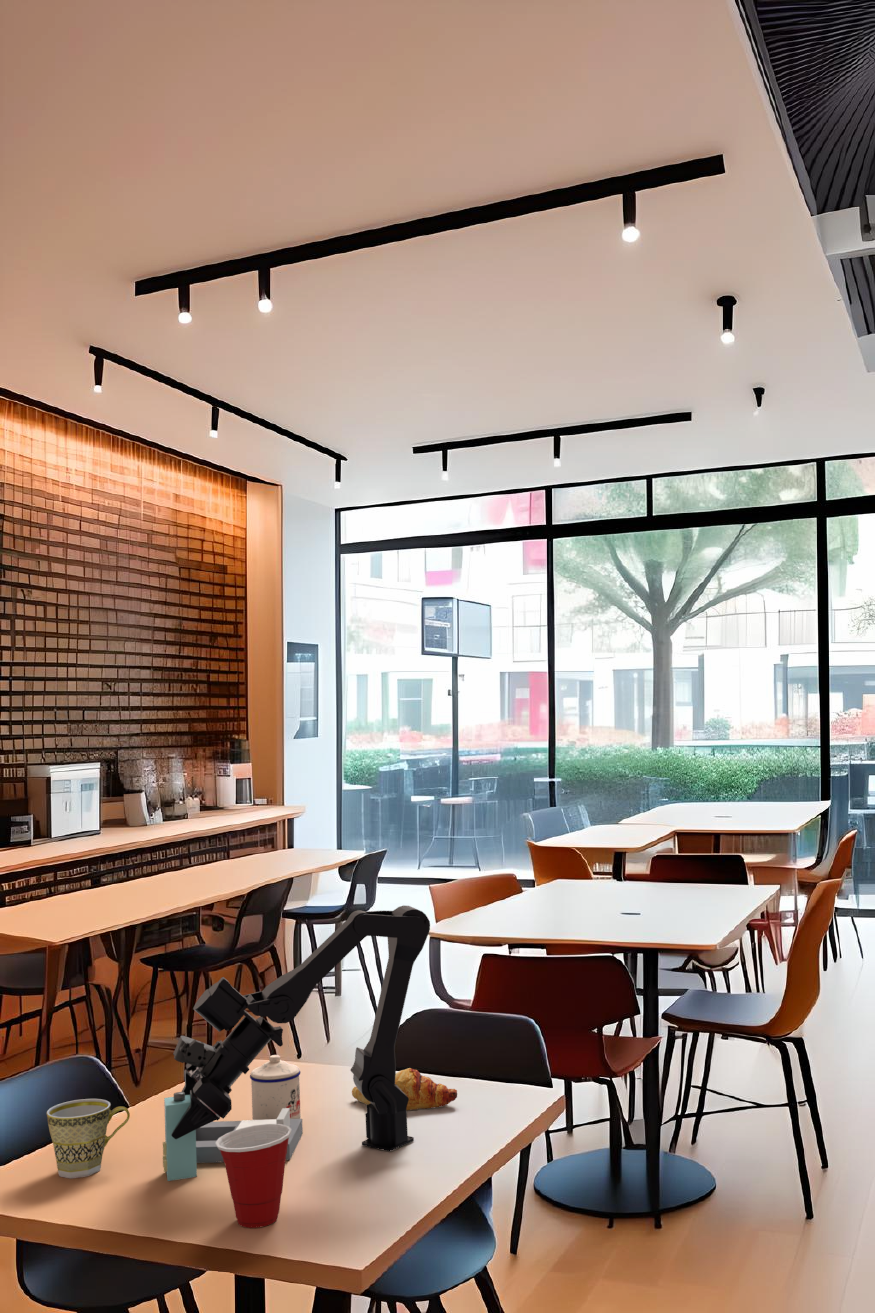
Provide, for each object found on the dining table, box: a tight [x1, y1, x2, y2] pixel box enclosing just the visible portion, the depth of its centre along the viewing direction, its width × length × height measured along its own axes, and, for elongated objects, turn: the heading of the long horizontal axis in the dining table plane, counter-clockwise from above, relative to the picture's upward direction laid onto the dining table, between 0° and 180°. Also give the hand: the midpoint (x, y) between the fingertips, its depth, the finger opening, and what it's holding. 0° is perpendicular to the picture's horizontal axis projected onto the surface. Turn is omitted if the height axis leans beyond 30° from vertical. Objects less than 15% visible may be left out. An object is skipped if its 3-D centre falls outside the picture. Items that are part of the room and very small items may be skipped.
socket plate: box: [196, 1118, 304, 1164], centre depth 192 cm, size 19×13×2 cm
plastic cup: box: [216, 1124, 292, 1229], centre depth 162 cm, size 11×11×12 cm
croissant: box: [351, 1067, 458, 1112], centre depth 213 cm, size 21×10×8 cm, turn 72°
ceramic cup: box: [46, 1098, 130, 1179], centre depth 186 cm, size 13×10×10 cm
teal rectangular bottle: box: [162, 1091, 198, 1182], centre depth 182 cm, size 5×4×12 cm
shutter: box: [236, 1108, 290, 1130], centre depth 193 cm, size 8×8×3 cm
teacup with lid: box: [249, 1054, 302, 1120], centre depth 207 cm, size 12×9×12 cm
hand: (171, 1128), depth 182 cm, fingers open, 9 cm apart
